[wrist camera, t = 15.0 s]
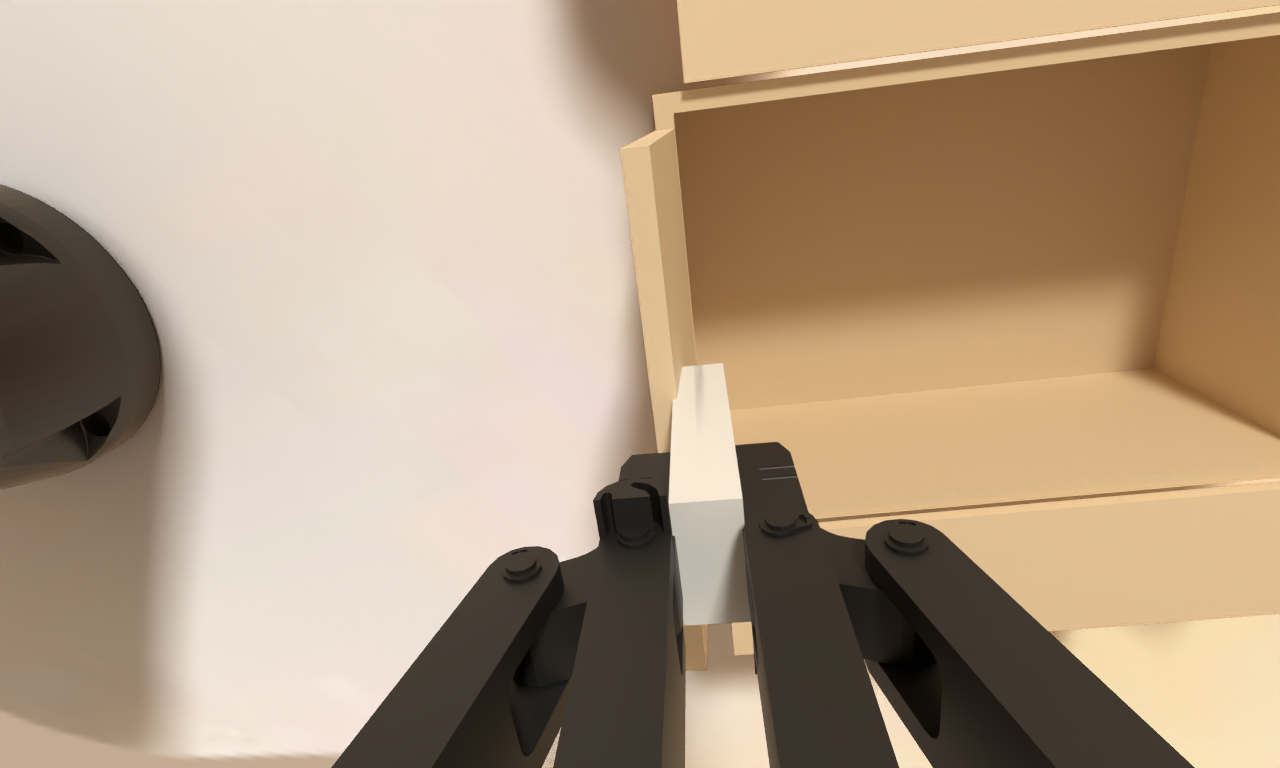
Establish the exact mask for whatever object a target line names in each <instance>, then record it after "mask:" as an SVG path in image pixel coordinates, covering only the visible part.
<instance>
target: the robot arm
mask: <svg viewBox="0 0 1280 768" xmlns="http://www.w3.org/2000/svg"><path fill="white" fill-rule="evenodd" d="M159 379H160V356H159V349H158V343H157V339H156V334H155V331H154V328H153V324H152V322H151V319H150V316H149V314H148V312H147V309H146V307H145V305H144V303H143V301H142V299H141V297H140V295H139V294H138V292H137V290H136V289H135V287H134V285H133V284H132V282H131V281H130V279H129V278H128V276H127V275H126V273H125V272H124V271H123V269H122V268H121V267H120V266H119V264H118V263H117V262H116V261H115V260H114V258H113V257H112V256H111V255H110V254H109V253H108V252H107V251H106V250H105V249H104V248H103V247H102V246H101V244H100V243H99V242H97V241H96V240H95V239H94V238H93V237H92V236H91V235H90V234H89V233H88V232H86V231H85V230H84V229H83V228H81V227H80V226H79V225H78V224H76V223H75V222H74V221H72V220H71V219H69V218H68V217H67V216H65V215H64V214H62V213H61V212H59V211H57V210H56V209H54V208H53V207H51V206H49V205H47V204H46V203H44V202H42V201H40V200H38V199H36V198H34V197H32V196H30V195H27V194H25V193H23V192H20V191H18V190H15V189H12V188H9V187H7V186H3V185H0V489H4V488H9V487H13V486H17V485H21V484H25V483H29V482H33V481H37V480H42V479H46V478H50V477H54V476H58V475H62V474H65V473H68V472H71V471H73V470H76V469H78V468H81V467H83V466H85V465H87V464H89V463H91V462H93V461H94V460H96V459H97V458H99V457H101V456H102V455H104V454H105V453H107V452H108V451H110V450H112V449H113V448H115V447H116V446H118V445H119V444H121V443H123V442H124V441H125V440H127V439H128V438H129V437H131V436H132V435H133V434H134V433H135V432H136V431H137V430H138V429H139V427H140V426H141V425H142V424H143V422H144V421H145V419H146V418H147V416H148V415H149V413H150V411H151V409H152V406H153V404H154V402H155V398H156V395H157V391H158V386H159ZM593 503H594V508H595V514H596V520H597V525H598V531H599V536H600V541H599V546H598V547H597V548H596V549H595V550H593V551H591V552H589V553H587V554H585V555H582V556H580V557H577V558H573V559H570V560H566V561H563V562H559V560H558V557H557V555H556V554H555V553H554V552H552V551H551V550H550V549H547V548H543V547H539V546H536V547H523V548H519V549H515V550H512V551H510V552H508V553H506V554H504V555H502V556H500V557H498V558H497V559H496V560H495V561H494V562H493V563H492V564H491V565H490V566H489V567H488V568H487V570H486V571H485V572H484V573H483V575H482V576H481V577H480V578H479V580H478V581H477V582H476V584H475V585H474V586H473V587H472V589H471V590H470V591H469V593H468V594H467V595H466V596H465V598H464V599H463V600H462V601H461V603H460V604H459V605H458V607H457V608H456V609H455V610H454V612H453V613H452V614H451V616H450V617H449V618H448V619H447V621H446V622H445V623H444V624H443V626H442V627H441V628H440V630H439V631H438V632H437V633H436V635H435V636H434V637H433V639H432V640H431V641H430V642H429V644H428V645H427V646H426V647H425V649H424V650H423V651H422V653H421V654H420V655H419V656H418V658H417V659H416V660H415V662H414V663H413V664H412V665H411V667H410V668H409V669H408V670H407V672H406V673H405V674H404V676H403V677H402V678H401V679H400V681H399V682H398V683H397V685H396V686H395V687H394V688H393V690H392V691H391V692H390V693H389V695H388V696H387V697H386V699H385V700H384V701H383V702H382V704H381V705H380V706H379V708H378V709H377V710H376V711H375V713H374V714H373V715H372V716H371V718H370V719H369V720H368V722H367V723H366V724H365V725H364V727H363V728H362V729H361V730H360V732H359V733H358V734H357V736H356V737H355V738H354V739H353V741H352V742H351V743H350V745H349V746H348V747H347V748H346V750H345V751H344V752H343V753H342V755H341V756H340V757H339V759H338V760H337V761H336V762H335V764H334V765H333V766H332V768H541V767H542V765H543V763H544V761H545V759H546V757H547V755H548V753H549V751H550V749H551V747H552V745H553V742H554V740H555V738H556V736H557V734H558V732H559V730H560V728H561V732H560V737H559V742H558V747H557V752H556V757H555V762H554V767H553V768H685V670H686V645H685V637H684V629H683V621H684V626H685V625H703V624H721V623H738V622H751V624H752V636H753V649H754V661H755V674H757V675H758V683H759V690H760V697H761V705H762V712H763V719H764V727H765V734H766V741H767V748H768V756H769V763H770V768H899V766H898V763H897V760H896V757H895V754H894V751H893V748H892V745H891V742H890V739H889V736H888V732H887V729H886V726H885V723H884V720H883V717H882V714H881V711H880V708H879V705H878V702H877V699H876V696H875V693H874V690H873V687H872V684H871V681H870V678H869V675H868V672H867V669H866V666H865V663H864V660H863V659H865V662H866V665H867V667H868V670H869V672H870V674H871V675H872V677H873V678H874V680H875V681H876V683H877V684H878V686H879V687H880V689H881V690H882V692H883V693H884V695H885V696H886V698H887V699H888V701H889V702H890V704H891V705H892V707H893V708H894V710H895V711H896V713H897V714H898V716H899V717H900V719H901V720H902V722H903V723H904V725H905V726H906V728H907V729H908V731H909V732H910V734H911V735H912V737H913V738H914V740H915V741H916V743H917V744H918V746H919V747H920V749H921V750H922V752H923V753H924V755H925V756H926V758H927V759H928V761H929V762H930V764H931V765H932V767H933V768H1194V767H1193V766H1192V765H1191V764H1190V763H1189V762H1188V761H1187V760H1186V759H1185V758H1184V757H1183V756H1181V755H1180V754H1179V753H1178V752H1177V751H1176V750H1175V749H1174V748H1173V747H1172V746H1171V745H1170V744H1169V743H1168V742H1166V741H1165V740H1164V739H1163V738H1162V737H1161V736H1160V735H1159V734H1158V733H1157V732H1156V731H1155V730H1154V729H1153V728H1151V727H1150V726H1149V725H1148V724H1147V723H1146V722H1145V721H1144V720H1143V719H1142V718H1141V717H1140V716H1139V715H1138V714H1136V713H1135V712H1134V711H1133V710H1132V709H1131V708H1130V707H1129V706H1128V705H1127V704H1126V703H1125V702H1124V701H1122V700H1121V699H1120V698H1119V697H1118V696H1117V695H1116V694H1115V693H1114V692H1113V691H1112V690H1111V689H1110V688H1109V687H1107V686H1106V685H1105V684H1104V683H1103V682H1102V681H1101V680H1100V679H1099V678H1098V677H1097V676H1096V675H1095V674H1094V673H1092V672H1091V671H1090V670H1089V669H1088V668H1087V667H1086V666H1085V665H1084V664H1083V663H1082V662H1081V661H1080V660H1079V659H1077V658H1076V657H1075V656H1074V655H1073V654H1072V653H1071V652H1070V651H1069V650H1068V649H1067V648H1066V647H1065V646H1064V645H1062V644H1061V643H1060V642H1059V641H1058V640H1057V639H1056V638H1055V637H1054V636H1053V635H1052V634H1051V633H1050V632H1048V631H1047V630H1046V629H1045V628H1044V627H1043V626H1042V625H1041V624H1040V623H1039V622H1038V621H1037V620H1036V619H1035V618H1033V617H1032V616H1031V615H1030V614H1029V613H1028V612H1027V611H1026V610H1025V609H1024V608H1023V607H1022V606H1021V605H1020V604H1018V603H1017V602H1016V601H1015V600H1014V599H1013V598H1012V597H1011V596H1010V595H1009V594H1008V593H1007V592H1006V591H1005V590H1003V589H1002V588H1001V587H1000V586H999V585H998V584H997V583H996V582H995V581H994V580H993V579H992V578H991V577H990V576H988V575H987V574H986V573H985V572H984V571H983V570H982V569H981V568H980V567H979V566H978V565H977V564H976V563H974V562H973V561H972V560H971V559H970V558H969V557H968V556H967V555H966V554H965V553H964V552H963V551H962V550H961V549H959V548H958V547H957V546H956V545H955V544H954V543H953V542H952V541H951V540H950V539H949V538H948V537H947V536H946V535H944V534H943V533H942V532H941V531H939V530H937V529H936V528H934V527H933V526H931V525H928V524H925V523H922V522H919V521H916V520H909V519H908V520H907V519H893V520H885V521H883V522H880V523H877V524H875V525H873V526H872V527H871V528H870V529H869V530H868V531H867V532H866V537H865V540H864V539H857V538H849V537H844V536H839V535H836V534H833V533H830V532H828V531H826V530H824V529H822V528H820V526H819V523H818V522H817V520H816V519H815V517H814V516H813V515H812V514H810V513H809V512H808V509H807V506H806V502H805V499H804V496H803V492H802V489H801V486H800V482H799V479H798V477H797V472H796V469H795V467H794V462H793V459H792V456H791V452H790V451H789V450H787V449H786V448H785V447H784V446H782V445H781V444H780V443H779V442H767V443H755V444H743V445H735V443H734V436H733V429H732V422H731V415H730V409H729V402H728V395H727V388H726V381H725V374H724V367H723V363H717V364H707V365H696V366H686V367H682V372H681V378H680V384H679V390H678V396H677V400H673V406H672V430H671V452H666V453H654V454H641V455H632V456H631V457H630V458H629V459H628V460H627V461H626V462H625V464H624V465H623V466H622V467H621V471H620V476H619V481H618V482H616V483H613V484H611V485H608V486H606V487H605V488H603V489H602V490H601V491H599V492H598V493H597V495H596V497H595V498H594V500H593ZM561 726H562V727H561Z"/></svg>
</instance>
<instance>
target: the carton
mask: <svg viewBox="0 0 1280 768" xmlns="http://www.w3.org/2000/svg"><path fill="white" fill-rule="evenodd" d="M676 2H677V13H678V24H679V36H680V47H681V59H682V70H683V81H684V83H692V82H699V81H707V80H715V79H722V78H730V77H737V76H745V75H752V74H760V73H768V72H775V71H783V70H790V69H798V68H805V67H813V66H821V65H828V64H836V63H843V62H851V61H858V60H866V59H874V58H881V57H889V56H896V55H904V54H911V53H919V52H927V51H934V50H942V49H949V48H957V47H964V46H972V45H980V44H987V43H995V42H1002V41H1010V40H1017V39H1025V38H1033V37H1040V36H1048V35H1055V34H1063V33H1070V32H1078V31H1085V30H1093V29H1101V28H1108V27H1116V26H1123V25H1131V24H1138V23H1146V22H1154V21H1161V20H1169V19H1176V18H1184V17H1191V16H1199V15H1207V14H1214V13H1222V12H1229V11H1237V10H1244V9H1252V8H1260V7H1267V6H1275V5H1280V0H676ZM652 100H653V109H654V119H655V128H656V131H658V130H666V129H674V130H675V140H676V151H677V161H678V172H679V182H680V193H681V203H682V214H683V224H684V235H685V245H686V256H687V267H688V277H689V288H690V298H691V309H692V319H693V330H694V340H695V351H696V361H697V365H707V364H717V363H723V367H724V374H725V381H726V388H727V395H728V402H729V409H730V415H731V422H732V429H733V436H734V443H735V445H743V444H755V443H767V442H779V443H780V444H781V445H782V446H784V447H785V448H786V449H787V450H789V451H790V452H791V456H792V459H793V462H794V467H795V469H796V472H797V477H798V479H799V482H800V486H801V489H802V492H803V496H804V499H805V502H806V506H807V509H808V512H809V513H810V514H812V515H813V516H814V517H815V519H822V518H833V517H844V516H856V515H867V514H878V513H889V512H901V511H912V510H923V509H934V508H946V507H957V506H968V505H979V504H991V503H1002V502H1013V501H1024V500H1035V499H1047V498H1058V497H1069V496H1080V495H1092V494H1103V493H1114V492H1125V491H1137V490H1148V489H1159V488H1170V487H1182V486H1193V485H1204V484H1215V483H1227V482H1238V481H1249V480H1260V479H1271V478H1280V12H1279V13H1271V14H1264V15H1256V16H1248V17H1241V18H1233V19H1226V20H1218V21H1210V22H1203V23H1195V24H1187V25H1180V26H1172V27H1165V28H1157V29H1149V30H1142V31H1134V32H1127V33H1119V34H1111V35H1104V36H1096V37H1089V38H1081V39H1073V40H1066V41H1058V42H1051V43H1043V44H1035V45H1028V46H1020V47H1012V48H1005V49H997V50H990V51H982V52H974V53H967V54H959V55H952V56H944V57H936V58H929V59H921V60H914V61H906V62H898V63H891V64H883V65H876V66H868V67H860V68H853V69H845V70H838V71H830V72H822V73H815V74H807V75H799V76H792V77H784V78H777V79H769V80H761V81H754V82H746V83H739V84H731V85H723V86H716V87H708V88H701V89H693V90H685V91H678V92H670V93H663V94H655V95H652ZM893 519H907V520H908V519H909V520H916V521H919V522H922V523H925V524H928V525H931V526H933V527H934V528H936V529H937V530H939V531H941V532H942V533H943V534H944V535H946V536H947V537H948V538H949V539H950V540H951V541H952V542H953V543H954V544H955V545H956V546H957V547H958V548H959V549H961V550H962V551H963V552H964V553H965V554H966V555H967V556H968V557H969V558H970V559H971V560H972V561H973V562H974V563H976V564H977V565H978V566H979V567H980V568H981V569H982V570H983V571H984V572H985V573H986V574H987V575H988V576H990V577H991V578H992V579H993V580H994V581H995V582H996V583H997V584H998V585H999V586H1000V587H1001V588H1002V589H1003V590H1005V591H1006V592H1007V593H1008V594H1009V595H1010V596H1011V597H1012V598H1013V599H1014V600H1015V601H1016V602H1017V603H1018V604H1020V605H1021V606H1022V607H1023V608H1024V609H1025V610H1026V611H1027V612H1028V613H1029V614H1030V615H1031V616H1032V617H1033V618H1035V619H1036V620H1037V621H1038V622H1039V623H1040V624H1041V625H1042V626H1043V627H1044V628H1045V629H1046V630H1047V631H1048V632H1050V631H1063V630H1076V629H1089V628H1102V627H1115V626H1128V625H1141V624H1154V623H1167V622H1180V621H1193V620H1206V619H1219V618H1232V617H1246V616H1259V615H1272V614H1280V481H1279V482H1268V483H1257V484H1245V485H1234V486H1223V487H1212V488H1200V489H1189V490H1178V491H1166V492H1155V493H1144V494H1133V495H1121V496H1110V497H1099V498H1087V499H1076V500H1065V501H1054V502H1042V503H1031V504H1020V505H1008V506H997V507H986V508H975V509H963V510H952V511H941V512H930V513H918V514H907V515H896V516H884V517H873V518H862V519H851V520H839V521H828V522H818V523H819V526H820V528H822V529H824V530H826V531H828V532H830V533H833V534H836V535H839V536H844V537H849V538H857V539H864V540H865V537H866V532H867V531H868V530H869V529H870V528H871V527H872V526H873V525H875V524H877V523H880V522H883V521H885V520H893ZM731 627H732V638H733V649H734V656H736V655H749V654H754V649H753V636H752V624H751V622H738V623H731Z"/></svg>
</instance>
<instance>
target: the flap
mask: <svg viewBox="0 0 1280 768" xmlns="http://www.w3.org/2000/svg"><path fill="white" fill-rule="evenodd" d="M620 154H621V162H622V170H623V178H624V186H625V194H626V202H627V210H628V218H629V226H630V234H631V242H632V250H633V258H634V266H635V274H636V282H637V290H638V298H639V306H640V314H641V322H642V330H643V338H644V346H645V354H646V362H647V370H648V378H649V386H650V394H651V402H652V410H653V418H654V425H655V433H656V441H657V449H658V453H666V452H671V430H672V406H673V400H677V396H678V390H679V384H680V378H681V372H682V367H686V366H696V365H697V361H696V351H695V340H694V330H693V319H692V309H691V298H690V288H689V277H688V267H687V256H686V245H685V235H684V224H683V214H682V203H681V193H680V182H679V172H678V161H677V151H676V140H675V130H674V129H666V130H658V131H653V132H651V133H650V134H648V135H646V136H644V137H642V138H640V139H638V140H636V141H634V142H633V143H631V144H629V145H627V146H625V147H623V148H621V149H620ZM683 629H684V637H685V645H686V670H698V671H706V670H707V644H708V624H703V625H685V626H684V621H683Z"/></svg>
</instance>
